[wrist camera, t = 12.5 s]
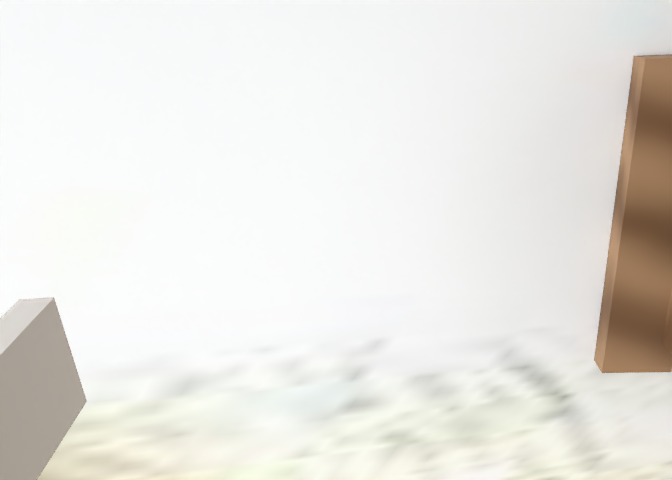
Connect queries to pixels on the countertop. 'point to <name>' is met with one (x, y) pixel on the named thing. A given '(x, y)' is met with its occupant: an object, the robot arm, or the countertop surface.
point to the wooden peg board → (641, 232)
